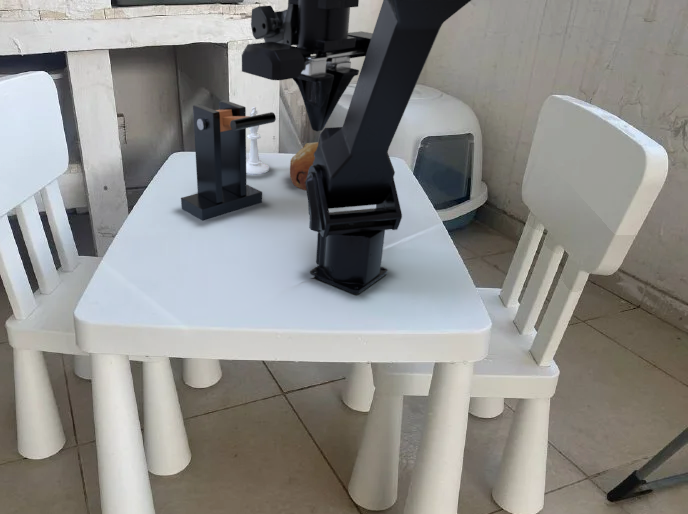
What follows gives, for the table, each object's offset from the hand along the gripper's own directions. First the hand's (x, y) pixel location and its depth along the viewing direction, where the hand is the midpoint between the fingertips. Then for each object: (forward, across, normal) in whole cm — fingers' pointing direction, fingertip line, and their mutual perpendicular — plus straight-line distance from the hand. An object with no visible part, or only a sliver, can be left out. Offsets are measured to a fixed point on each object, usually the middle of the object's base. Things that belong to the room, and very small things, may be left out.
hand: (317, 130), depth 73 cm
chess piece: (+13, -7, -20) cm, 25 cm away
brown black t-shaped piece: (+1, +6, -8) cm, 10 cm away
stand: (+12, +6, -12) cm, 18 cm away
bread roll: (+13, -11, -10) cm, 20 cm away
